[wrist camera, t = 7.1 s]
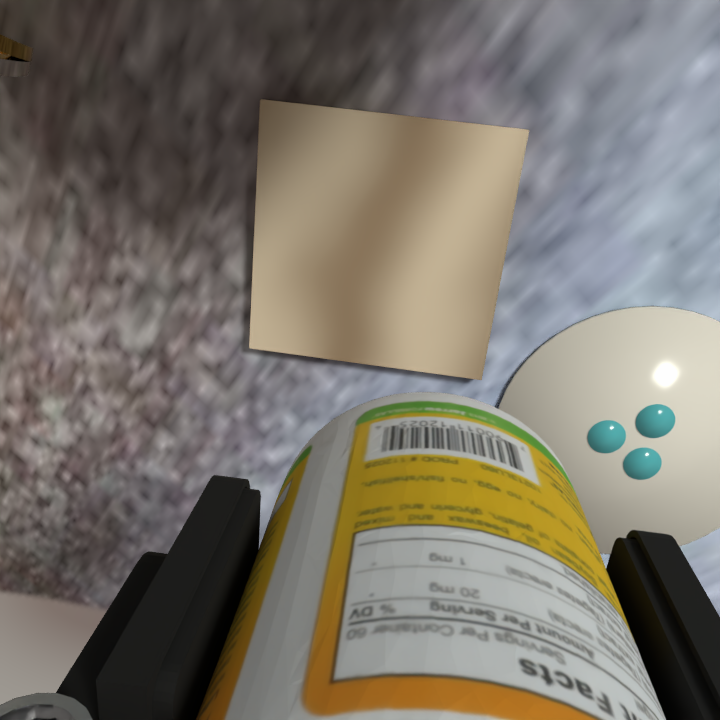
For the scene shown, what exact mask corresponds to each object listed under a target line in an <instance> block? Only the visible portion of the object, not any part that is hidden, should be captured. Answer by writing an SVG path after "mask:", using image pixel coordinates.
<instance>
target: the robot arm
mask: <svg viewBox="0 0 720 720" xmlns="http://www.w3.org/2000/svg"><path fill="white" fill-rule="evenodd" d="M260 501H261V494H260V491H259V490H254V489H250V484H249V481H248V479H240V478H233V477H225V476H217V475H214V476H212V478H211V479H210V481H209V483H208V484H207V486H206V488H205V490H204V491H203V493H202V495H201V497H200V498H199V500H198V502H197V504H196V505H195V507H194V509H193V511H192V512H191V514H190V516H189V518H188V519H187V521H186V523H185V525H184V526H183V528H182V530H181V532H180V533H179V535H178V537H177V539H176V540H175V542H174V544H173V546H172V547H171V549H170V551H169V553H168V554H163V553H156V552H147V553H145V554H143V556H142V557H141V558H140V560H139V561H138V562H137V564H136V566H135V567H134V569H133V570H132V572H131V573H130V575H129V577H128V578H127V580H126V581H125V583H124V585H123V586H122V588H121V589H120V591H119V593H118V594H117V596H116V597H115V599H114V601H113V602H112V604H111V605H110V607H109V609H108V610H107V612H106V613H105V615H104V617H103V618H102V620H101V621H100V623H99V625H98V626H97V628H96V630H95V631H94V633H93V634H92V636H91V637H90V639H89V641H88V642H87V644H86V645H85V647H84V649H83V650H82V652H81V653H80V655H79V657H78V658H77V660H76V662H75V663H74V665H73V666H72V668H71V669H70V671H69V673H68V674H67V676H66V678H65V679H64V681H63V682H62V684H61V685H60V687H59V689H58V690H57V692H56V693H35V694H31V695H26V696H22V697H18V698H14V699H12V700H10V701H8V702H6V703H4V704H1V705H0V720H196V717H197V715H198V712H199V710H200V707H201V704H202V702H203V699H204V697H205V694H206V691H207V689H208V686H209V684H210V681H211V678H212V676H213V673H214V670H215V668H216V665H217V662H218V660H219V657H220V654H221V651H222V649H223V646H224V643H225V641H226V638H227V635H228V633H229V630H230V627H231V625H232V622H233V619H234V616H235V613H236V611H237V608H238V605H239V602H240V600H241V597H242V595H243V592H244V589H245V586H246V584H247V581H248V578H249V575H250V573H251V570H252V567H253V564H254V562H255V559H256V556H257V553H258V550H259V526H260ZM606 571H607V573H608V576H609V578H610V580H611V583H612V585H613V588H614V590H615V593H616V595H617V598H618V600H619V603H620V605H621V608H622V611H623V613H624V616H625V618H626V621H627V623H628V626H629V628H630V631H631V633H632V636H633V638H634V641H635V643H636V646H637V648H638V650H639V653H640V656H641V659H642V661H643V664H644V666H645V669H646V671H647V674H648V676H649V678H650V681H651V683H652V686H653V688H654V691H655V693H656V696H657V698H658V701H659V703H660V706H661V708H662V711H663V713H664V716H665V718H666V720H720V617H719V615H718V613H717V612H716V610H715V608H714V606H713V605H712V603H711V601H710V599H709V598H708V596H707V594H706V592H705V591H704V589H703V587H702V585H701V584H700V582H699V580H698V579H697V577H696V575H695V573H694V572H693V570H692V568H691V566H690V565H689V563H688V561H687V559H686V558H685V556H684V554H683V552H682V551H681V549H680V547H679V545H678V544H677V542H676V540H675V539H674V538H673V536H671V535H669V534H663V533H655V532H648V531H640V530H631V531H630V532H629V533H628V534H627V536H626V538H621V537H619V538H617V539H616V540H615V542H614V545H613V548H612V551H611V555H610V558H609V562H608V565H607V568H606Z"/></svg>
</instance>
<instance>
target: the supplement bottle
mask: <svg viewBox="0 0 720 720" xmlns="http://www.w3.org/2000/svg"><path fill="white" fill-rule="evenodd" d="M196 720H666V718H665V716H664V713H663V711H662V708H661V706H660V703H659V701H658V698H657V696H656V693H655V691H654V688H653V686H652V683H651V681H650V678H649V676H648V674H647V671H646V669H645V666H644V664H643V661H642V659H641V656H640V653H639V650H638V648H637V646H636V643H635V641H634V638H633V636H632V633H631V631H630V628H629V626H628V623H627V621H626V618H625V616H624V613H623V611H622V608H621V605H620V603H619V600H618V598H617V595H616V593H615V590H614V588H613V585H612V583H611V580H610V578H609V576H608V573H607V571H606V568H605V566H604V563H603V561H602V558H601V555H600V553H599V550H598V547H597V545H596V542H595V539H594V537H593V535H592V532H591V530H590V527H589V524H588V522H587V519H586V517H585V514H584V512H583V509H582V507H581V504H580V502H579V500H578V497H577V495H576V493H575V490H574V488H573V486H572V484H571V482H570V479H569V477H568V475H567V473H566V471H565V469H564V468H563V466H562V464H561V462H560V461H559V459H558V458H557V456H556V455H555V454H554V452H553V451H552V450H551V448H550V447H549V446H548V445H547V444H546V443H545V442H544V441H543V440H542V439H541V438H540V437H539V436H538V435H537V434H536V433H535V432H534V431H532V430H531V429H530V428H529V427H527V426H526V425H525V424H523V423H522V422H521V421H519V420H518V419H516V418H514V417H513V416H511V415H509V414H507V413H505V412H503V411H501V410H499V409H497V408H495V407H493V406H491V405H488V404H486V403H483V402H480V401H478V400H475V399H471V398H467V397H463V396H458V395H453V394H446V393H435V392H416V393H403V394H395V395H390V396H386V397H382V398H378V399H374V400H372V401H369V402H366V403H363V404H361V405H358V406H356V407H354V408H352V409H350V410H348V411H346V412H345V413H343V414H341V415H340V416H338V417H336V418H335V419H333V420H332V421H331V422H329V423H328V424H327V425H325V426H324V427H323V428H322V429H321V430H319V431H318V432H317V433H316V434H315V435H314V436H313V437H312V438H311V439H310V440H309V442H308V443H307V444H306V445H305V447H304V448H303V449H302V450H301V452H300V453H299V455H298V456H297V457H296V459H295V461H294V462H293V464H292V466H291V468H290V470H289V472H288V474H287V476H286V478H285V481H284V483H283V485H282V488H281V490H280V493H279V495H278V498H277V500H276V503H275V505H274V508H273V511H272V514H271V517H270V520H269V522H268V525H267V528H266V531H265V534H264V537H263V540H262V542H261V545H260V548H259V550H258V553H257V556H256V559H255V562H254V564H253V567H252V570H251V573H250V575H249V578H248V581H247V584H246V586H245V589H244V592H243V595H242V597H241V600H240V602H239V605H238V608H237V611H236V613H235V616H234V619H233V622H232V625H231V627H230V630H229V633H228V635H227V638H226V641H225V643H224V646H223V649H222V651H221V654H220V657H219V660H218V662H217V665H216V668H215V670H214V673H213V676H212V678H211V681H210V684H209V686H208V689H207V691H206V694H205V697H204V699H203V702H202V704H201V707H200V710H199V712H198V715H197V717H196Z"/></svg>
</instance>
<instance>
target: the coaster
mask: <svg viewBox="0 0 720 720" xmlns="http://www.w3.org/2000/svg"><path fill="white" fill-rule="evenodd" d="M498 409H499V410H501V411H503V412H505V413H507V414H509V415H511V416H513V417H514V418H516V419H518V420H519V421H521V422H522V423H523V424H525V425H526V426H527V427H529V428H530V429H531V430H532V431H534V432H535V433H536V434H537V435H538V436H539V437H540V438H541V439H542V440H543V441H544V442H545V443H546V444H547V445H548V446H549V447H550V448H551V450H552V451H553V452H554V454H555V455H556V456H557V458H558V459H559V461H560V462H561V464H562V466H563V468H564V469H565V471H566V473H567V475H568V477H569V479H570V482H571V484H572V486H573V488H574V490H575V493H576V495H577V497H578V500H579V502H580V504H581V507H582V509H583V512H584V514H585V517H586V519H587V522H588V524H589V527H590V530H591V532H592V535H593V537H594V539H595V542H596V545H597V547H598V550H599V553H604V554H611V551H612V548H613V545H614V542H615V540H616V539H617V538H619V537H621V538H626V536H627V534H628V533H629V532H630V531H631V530H640V531H648V532H655V533H663V534H669V535H671V536H673V538H674V539H675V540H676V542H677V544H678V545H679V546H682V545H685V544H688V543H690V542H692V541H695V540H697V539H699V538H702V537H704V536H706V535H708V534H709V533H711V532H713V531H714V530H716V529H718V528H720V322H719V321H717V320H715V319H713V318H711V317H708V316H705V315H702V314H699V313H696V312H693V311H689V310H684V309H679V308H674V307H661V306H642V307H629V308H623V309H618V310H612V311H608V312H605V313H602V314H598V315H595V316H592V317H589V318H587V319H585V320H582V321H580V322H578V323H575V324H573V325H572V326H570V327H568V328H566V329H565V330H563V331H561V332H559V333H558V334H556V335H555V336H553V337H552V338H551V339H549V340H548V341H547V342H545V343H544V344H543V345H541V346H540V347H539V348H538V349H537V350H536V351H535V352H534V353H533V354H532V355H531V356H530V357H529V358H528V359H527V360H526V361H525V362H524V363H523V365H522V366H521V367H520V368H519V370H518V371H517V372H516V373H515V375H514V377H513V378H512V380H511V381H510V383H509V385H508V386H507V388H506V390H505V393H504V395H503V397H502V399H501V402H500V404H499V408H498Z"/></svg>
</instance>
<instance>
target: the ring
mask: <svg viewBox="0 0 720 720" xmlns="http://www.w3.org/2000/svg"><path fill="white" fill-rule="evenodd" d="M32 55H33V48H31V47H28V46H26V45H23V44H21V43H18V42H16V41H14V40H11V39H9V38H7V37H4V36H2V35H0V76H8V77H23V76H27V75H29V70H30V64H31V61H32Z"/></svg>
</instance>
